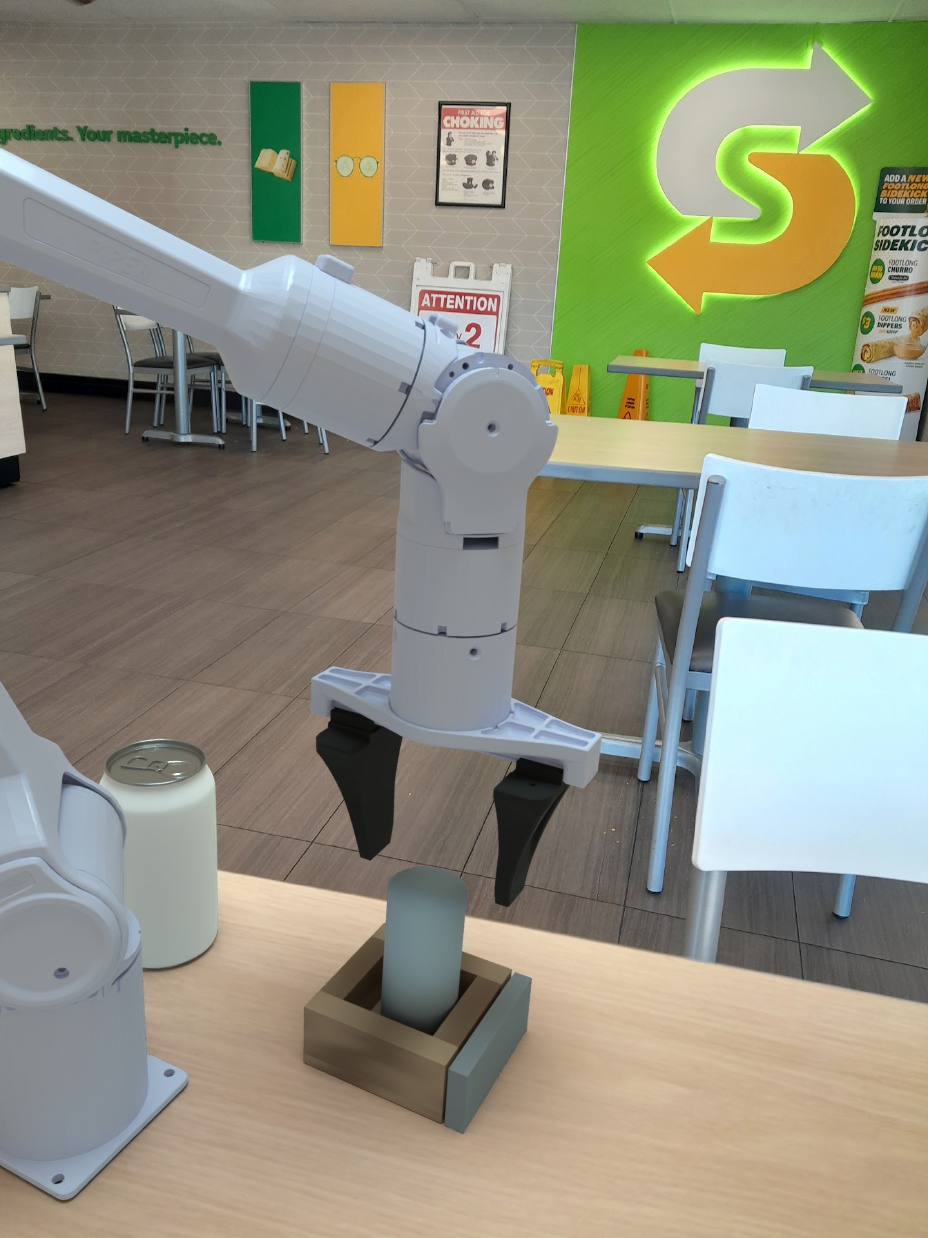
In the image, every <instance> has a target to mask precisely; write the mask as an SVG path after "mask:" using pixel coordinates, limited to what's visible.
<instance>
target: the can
mask: <svg viewBox="0 0 928 1238" xmlns="http://www.w3.org/2000/svg"><path fill="white" fill-rule="evenodd" d="M207 762H208V756H207V753H206V751H205V750H204V749H203V748H202V747H200V746H199V745H197V744H195V743H192V742H189V741H187V740H182V739H177V738H175V739H174V738H153V739H145V740H139V741H135V742H132V743H128V744H125V745H123V746H121V747H118V748H117V749H115V750H113V751H112V752H111V753H110V754H108V756H106V758H104V762H103V767H102V768H103V771H104V772H103V775H102V776H101V779H100V781H99V783H98V784H99V785H101V786H103V787H104V788H105V789H106V790H108V791H109V792H110V793H111V794H112V795H113V796H114V797H115V799H116V800H117V801H118V803H119V804H120V806H121V808H122V810H123V813H124V816H125V819H126V826H127V833H126V839H125V845H124V850H123V856H124V903H125V905H126V906H127V907H128V908H129V909H130V910H131V911H132V913H133V914H134V915H135V917H136V918H137V920H138V922H139V925H140V929H141V945H142V965H143V970H165V969H170V968H175V967H178V966H179V967H180V966H182V965H184V964H187V963H189V962H191V961H193V960H195V959H197V958H199V956H201V955H202V954H203V953H204V952H205V951H207V949H209V948H210V947H211V946H212V945H213V943H214V941H215V939H216V937H217V934H218V931H219V930H218V929H219V899H218V898H219V894H218V893H219V891H218V890H219V887H218V886H219V883H218V882H219V880H218V876H219V875H218V844H217V843H218V841H217V839H218V837H217V836H218V835H217V830H218V829H217V802H216V801H217V800H216V799H217V798H216V783H215V778H214V775H213V772H212V771H211V769H210V767H209V766H208V764H207Z"/></svg>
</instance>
